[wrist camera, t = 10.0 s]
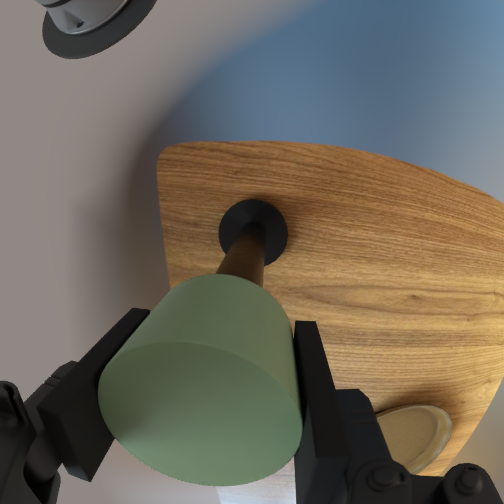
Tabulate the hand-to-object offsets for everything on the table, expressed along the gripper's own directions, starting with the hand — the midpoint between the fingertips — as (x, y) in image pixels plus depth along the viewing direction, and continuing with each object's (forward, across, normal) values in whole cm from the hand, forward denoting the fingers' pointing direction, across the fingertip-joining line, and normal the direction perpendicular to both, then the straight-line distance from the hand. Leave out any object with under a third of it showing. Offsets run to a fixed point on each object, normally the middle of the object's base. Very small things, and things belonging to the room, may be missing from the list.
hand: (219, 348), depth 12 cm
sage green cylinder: (0, 0, 0) cm, 0 cm away
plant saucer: (+27, +26, -36) cm, 52 cm away
